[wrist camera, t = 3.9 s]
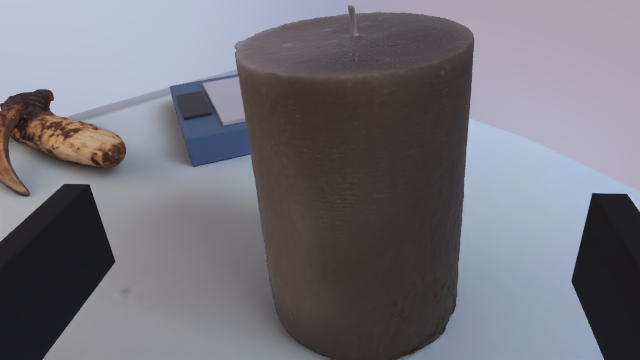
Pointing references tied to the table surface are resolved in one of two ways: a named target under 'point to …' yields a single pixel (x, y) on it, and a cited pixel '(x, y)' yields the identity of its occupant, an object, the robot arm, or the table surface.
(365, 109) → the pillar candle
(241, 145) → the scale
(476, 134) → the table surface
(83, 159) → the brown forked curved piece
